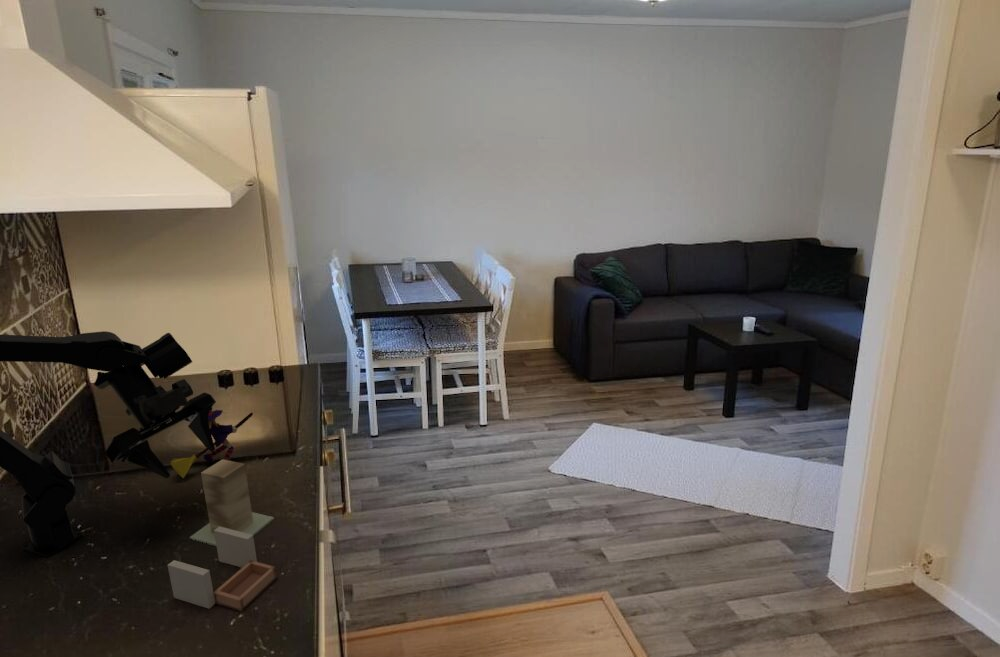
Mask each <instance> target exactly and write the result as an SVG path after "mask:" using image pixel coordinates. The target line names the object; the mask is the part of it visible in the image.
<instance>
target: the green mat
mask: <svg viewBox="0 0 1000 657" xmlns="http://www.w3.org/2000/svg"><path fill="white" fill-rule="evenodd" d="M252 517H253V523H252V524H251V525H249V526H248V527H247V528H245V529H244V530H243V531H242V532H243V533H247V534H251V535H253V537H255V536H256V535H257V534H258V533H259V532H260V531H261V530H263V529H264V528H265V527H266V526H267V525H269V524H270V523H271V522H272V521H274V520H275V517H274V516H269V515H265V514H261V513H257V512H254V511H252ZM189 539H190V540H191V539H192V541H195V540H196V542H198V541H199V543H202V542H203V544H206V543H207V544H206V545H210V546H214V547H217V546H216V540H215V534H214V533H212V532H211V528H210V522H208V523H207V524H206V525H204V526H203V527H202V528H200V529H199V530H197V531H196V532H195V533H193V534H192V535H191V536H189Z"/></svg>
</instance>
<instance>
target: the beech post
mask: <svg viewBox="0 0 1000 657" xmlns="http://www.w3.org/2000/svg"><path fill="white" fill-rule="evenodd" d="M246 470H247V469H246V463H243V462H237V461H232V460H229V459H228V460H224V458H223V459H220V460H219V461H217V462H216V463H214V464H212V465H211V466H209V467H208V468H206V469H204V470H203V471H201V472H200V474H201V481H202V487H203V493H204V498H205V504H206V510H207V515H208V523H210V528H211V532H212V533H214V530H215V529H216V528H218V527H219V526H220V527H224V528H228V529H232V530H235V531H239V532H242V531H243V530H244V529H245V528H247V527H248V526H249V525H251V524H252V523H253V517H252V512H253V511H252V504H251V503H252V502H251V499H250V498H251V497H250V491H249V485H248V484H249V483H248V477H247V471H246Z"/></svg>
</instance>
